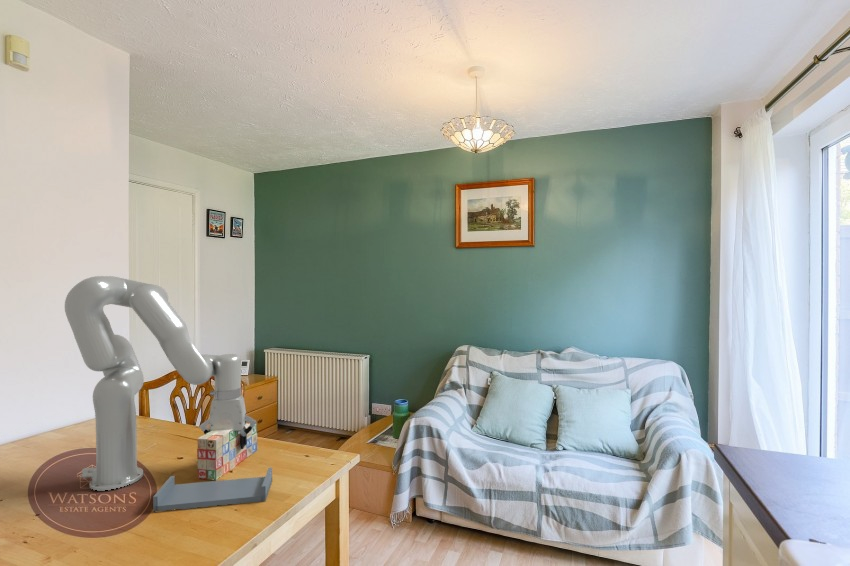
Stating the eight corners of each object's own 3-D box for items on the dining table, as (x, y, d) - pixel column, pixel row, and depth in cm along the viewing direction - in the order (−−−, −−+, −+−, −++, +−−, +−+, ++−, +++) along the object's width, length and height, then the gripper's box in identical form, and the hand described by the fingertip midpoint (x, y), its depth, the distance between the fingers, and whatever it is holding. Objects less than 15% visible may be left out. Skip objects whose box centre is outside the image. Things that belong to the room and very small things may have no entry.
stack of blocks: (241, 449, 143) (240, 413, 143) (257, 450, 142) (257, 414, 142) (197, 479, 122) (196, 437, 122) (216, 480, 121) (215, 439, 121)
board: (153, 512, 105) (153, 496, 105) (170, 490, 116) (170, 476, 116) (265, 501, 110) (265, 486, 110) (272, 481, 121) (272, 467, 121)
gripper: (194, 398, 126) (194, 456, 126) (254, 395, 129) (255, 451, 130) (202, 392, 133) (202, 446, 134) (259, 389, 137) (259, 441, 137)
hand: (228, 448), depth 132 cm, fingers closed on stack of blocks, 7 cm apart
